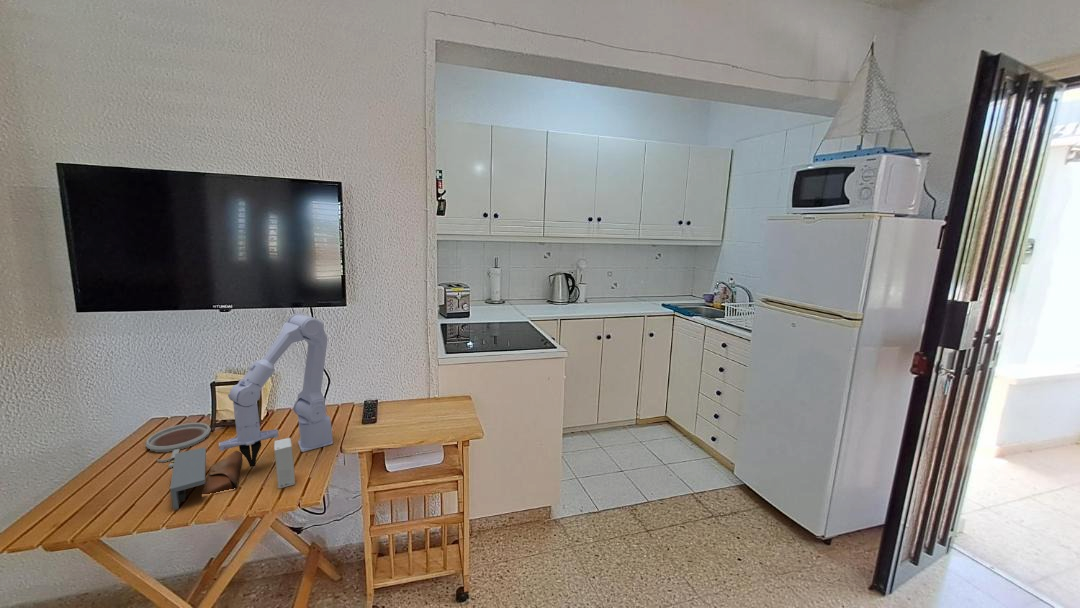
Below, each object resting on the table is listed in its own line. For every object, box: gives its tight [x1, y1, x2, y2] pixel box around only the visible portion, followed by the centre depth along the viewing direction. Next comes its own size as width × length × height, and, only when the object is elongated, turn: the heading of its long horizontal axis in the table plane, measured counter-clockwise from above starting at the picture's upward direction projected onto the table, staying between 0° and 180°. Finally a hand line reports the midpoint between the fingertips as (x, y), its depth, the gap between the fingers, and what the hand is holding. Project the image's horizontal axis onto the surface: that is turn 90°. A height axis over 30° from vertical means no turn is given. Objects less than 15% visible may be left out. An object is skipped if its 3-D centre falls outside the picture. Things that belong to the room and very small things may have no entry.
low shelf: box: [169, 446, 207, 511], centre depth 120 cm, size 7×20×6 cm, turn 37°
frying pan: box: [144, 422, 212, 469], centre depth 140 cm, size 17×3×28 cm
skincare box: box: [273, 437, 296, 490], centre depth 123 cm, size 6×4×12 cm
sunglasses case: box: [200, 450, 243, 495], centre depth 125 cm, size 18×7×7 cm, turn 31°
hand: (252, 465), depth 129 cm, fingers closed
